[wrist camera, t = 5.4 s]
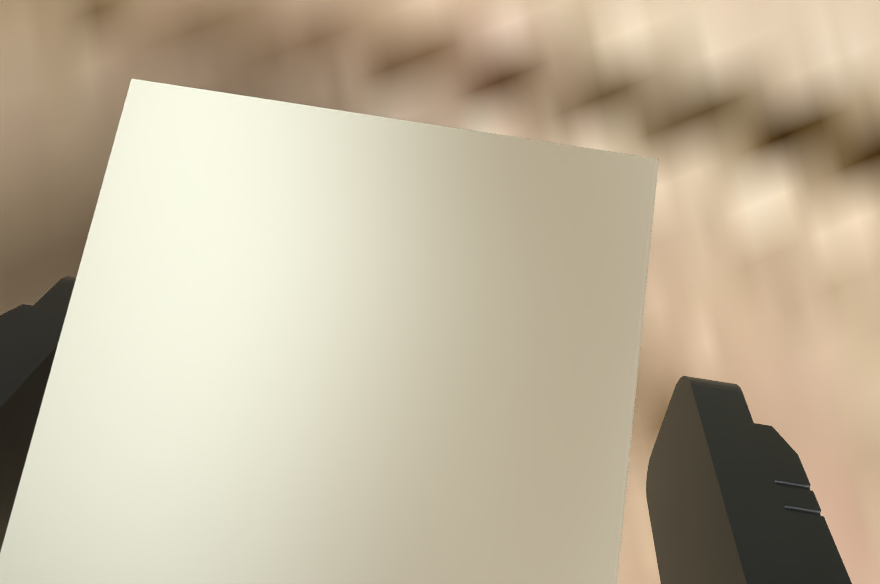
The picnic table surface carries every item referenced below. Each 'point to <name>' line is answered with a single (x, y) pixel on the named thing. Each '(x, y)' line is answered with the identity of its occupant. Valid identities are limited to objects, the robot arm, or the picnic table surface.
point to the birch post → (339, 356)
